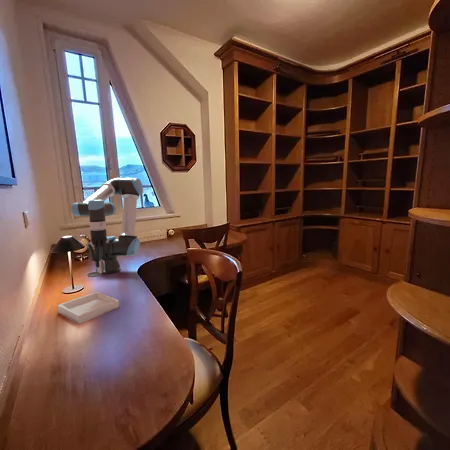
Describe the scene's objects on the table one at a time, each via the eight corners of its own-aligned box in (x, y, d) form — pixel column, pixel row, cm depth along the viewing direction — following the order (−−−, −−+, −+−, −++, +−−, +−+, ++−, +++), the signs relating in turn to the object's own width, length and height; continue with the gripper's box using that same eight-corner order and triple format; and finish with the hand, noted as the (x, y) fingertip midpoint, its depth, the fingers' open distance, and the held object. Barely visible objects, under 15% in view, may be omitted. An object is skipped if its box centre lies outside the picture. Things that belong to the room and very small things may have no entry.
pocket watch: (84, 277, 130) (83, 259, 128) (93, 272, 138) (92, 254, 137) (100, 277, 130) (99, 259, 128) (108, 272, 138) (106, 254, 137)
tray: (97, 298, 126) (97, 291, 126) (119, 307, 116) (118, 300, 116) (58, 312, 111) (57, 305, 111) (79, 324, 101) (78, 316, 101)
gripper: (88, 231, 124) (92, 277, 127) (114, 228, 136) (117, 270, 139) (80, 230, 128) (84, 274, 132) (106, 227, 140) (109, 267, 143)
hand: (101, 272), depth 135 cm, fingers closed on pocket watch
